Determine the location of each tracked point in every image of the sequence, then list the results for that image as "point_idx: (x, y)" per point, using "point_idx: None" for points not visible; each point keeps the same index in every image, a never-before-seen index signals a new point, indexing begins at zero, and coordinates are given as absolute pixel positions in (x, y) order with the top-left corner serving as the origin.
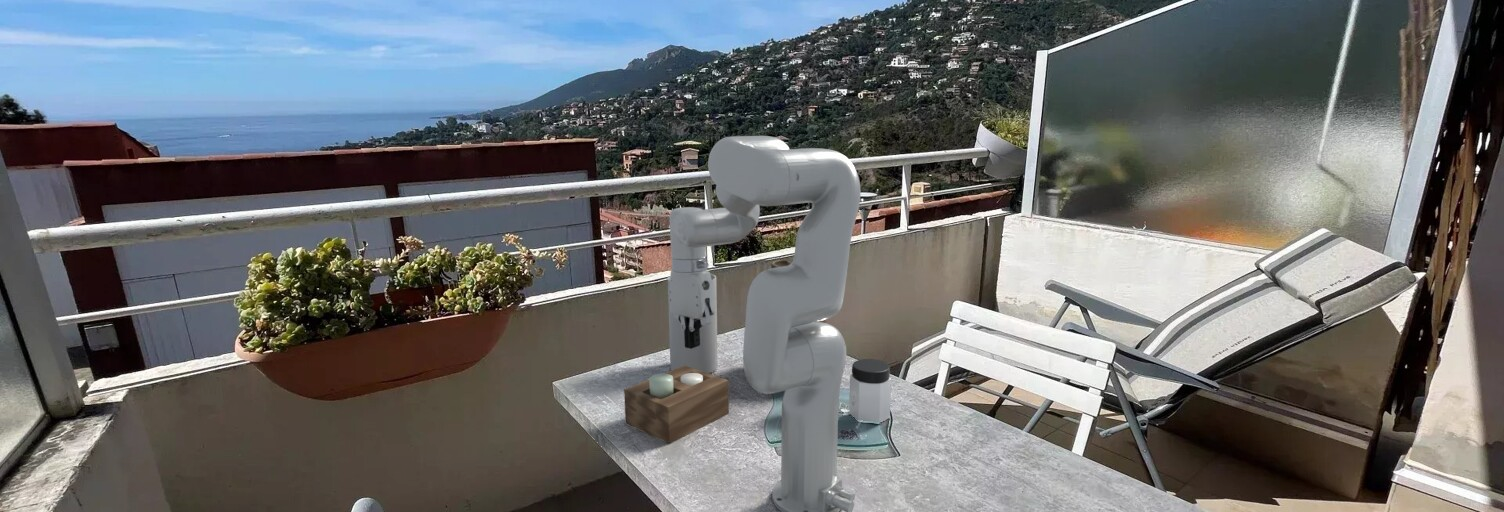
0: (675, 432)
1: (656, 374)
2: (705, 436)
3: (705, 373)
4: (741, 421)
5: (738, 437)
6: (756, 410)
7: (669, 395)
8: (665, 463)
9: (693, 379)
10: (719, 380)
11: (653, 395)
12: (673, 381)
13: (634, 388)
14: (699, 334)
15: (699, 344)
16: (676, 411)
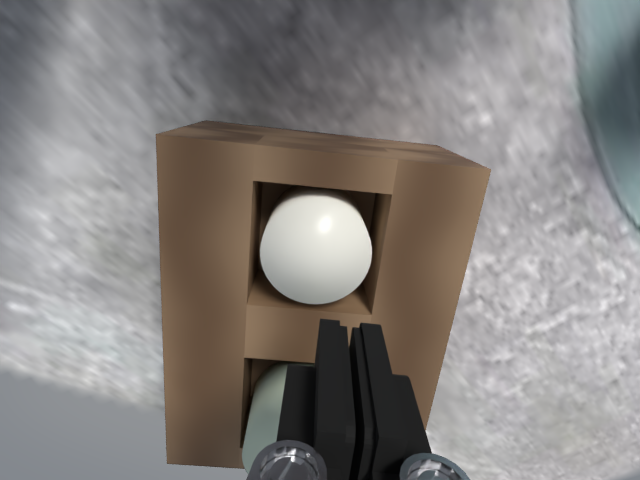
0: None
1: (247, 442)
2: None
3: (335, 164)
4: (507, 170)
5: (545, 262)
6: (520, 59)
7: None
8: (437, 445)
9: (341, 270)
10: (452, 198)
11: None
12: (268, 320)
13: (192, 442)
14: (395, 388)
15: (378, 329)
16: None
